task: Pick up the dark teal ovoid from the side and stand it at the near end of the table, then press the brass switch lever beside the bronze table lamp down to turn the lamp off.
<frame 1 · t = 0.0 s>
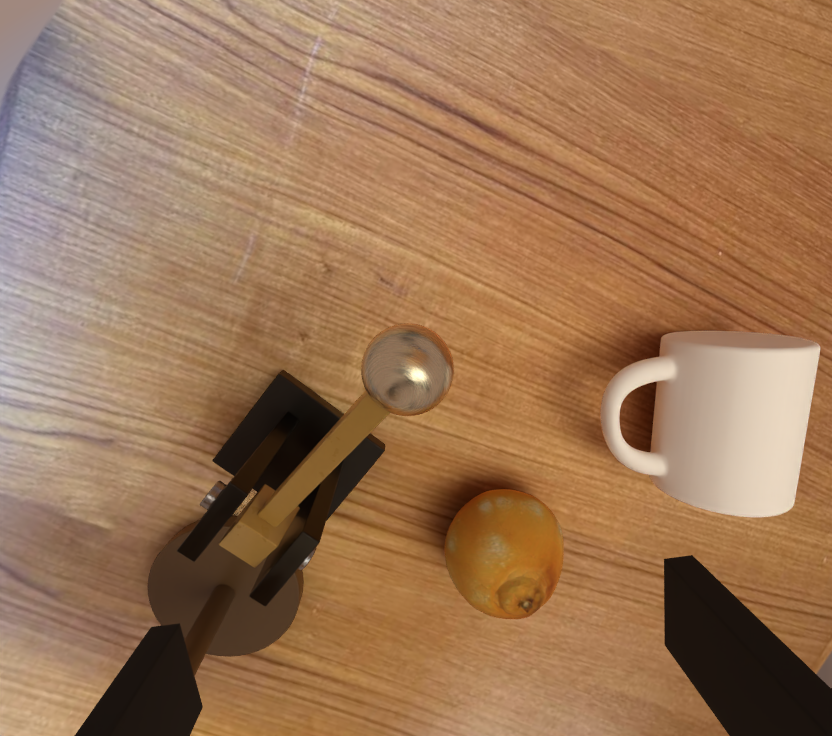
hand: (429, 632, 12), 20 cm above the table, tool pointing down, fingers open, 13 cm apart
switch bracket: (302, 449, 32), on the table
lamp: (231, 580, 34), on the table
fruit: (493, 522, 34), on the table
lamp switch: (321, 461, 19), point 13 cm above the table, hinge at 25.0°
mug: (657, 398, 33), on the table
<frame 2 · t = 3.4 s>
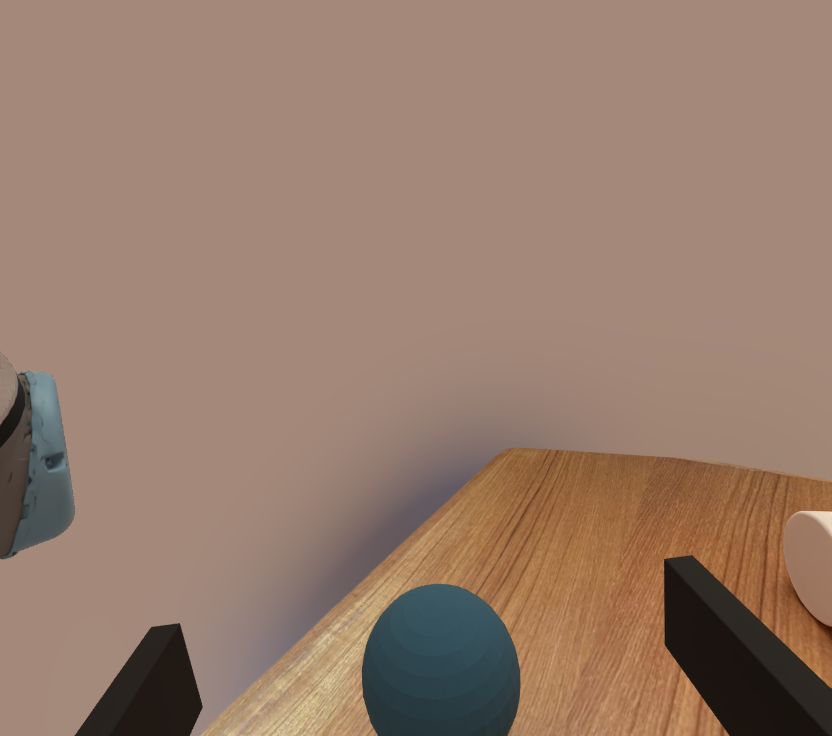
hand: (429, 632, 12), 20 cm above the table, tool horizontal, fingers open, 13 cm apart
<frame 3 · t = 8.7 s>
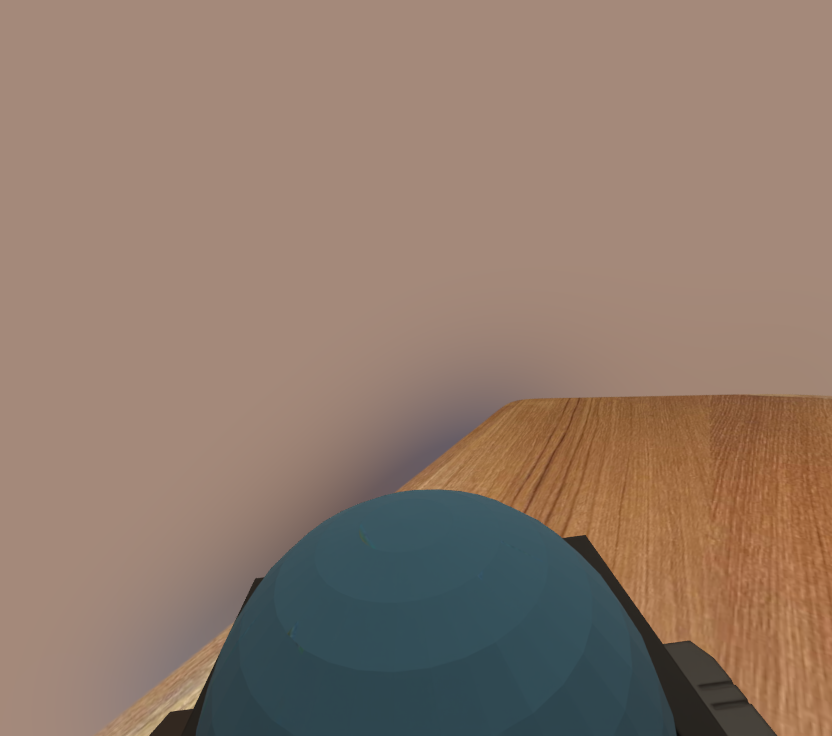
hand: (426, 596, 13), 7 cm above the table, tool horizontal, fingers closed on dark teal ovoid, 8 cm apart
when the fingers open (7 cm above the table, at t = 16.5 s): dark teal ovoid stays where it is, on the table.
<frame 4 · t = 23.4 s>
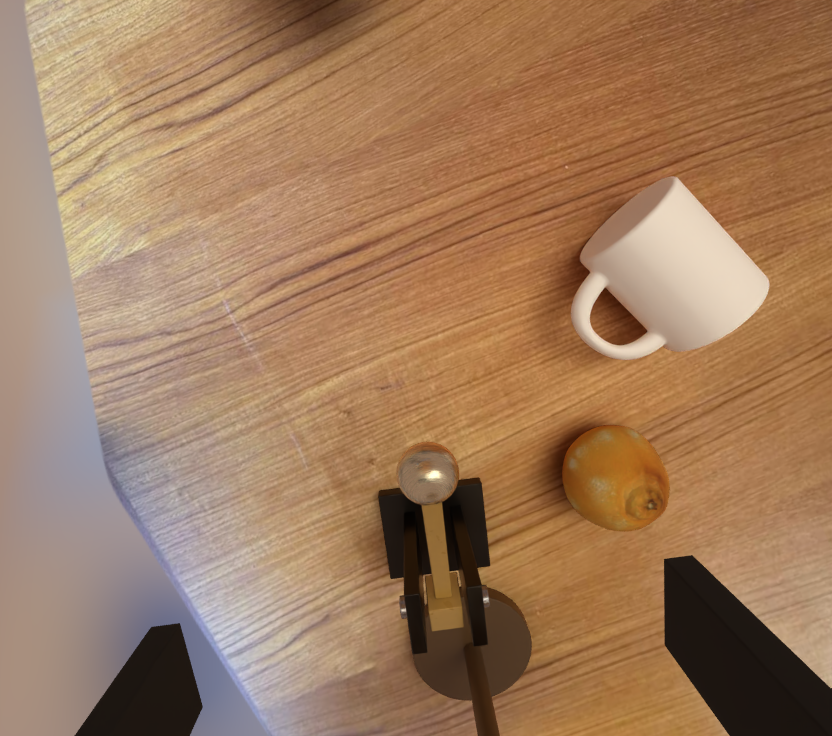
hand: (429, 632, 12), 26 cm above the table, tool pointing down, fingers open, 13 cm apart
switch bracket: (434, 524, 40), on the table
lamp: (470, 637, 42), on the table
fruit: (595, 461, 40), on the table
lamp switch: (437, 545, 27), point 13 cm above the table, hinge at 25.0°
mug: (621, 288, 37), on the table
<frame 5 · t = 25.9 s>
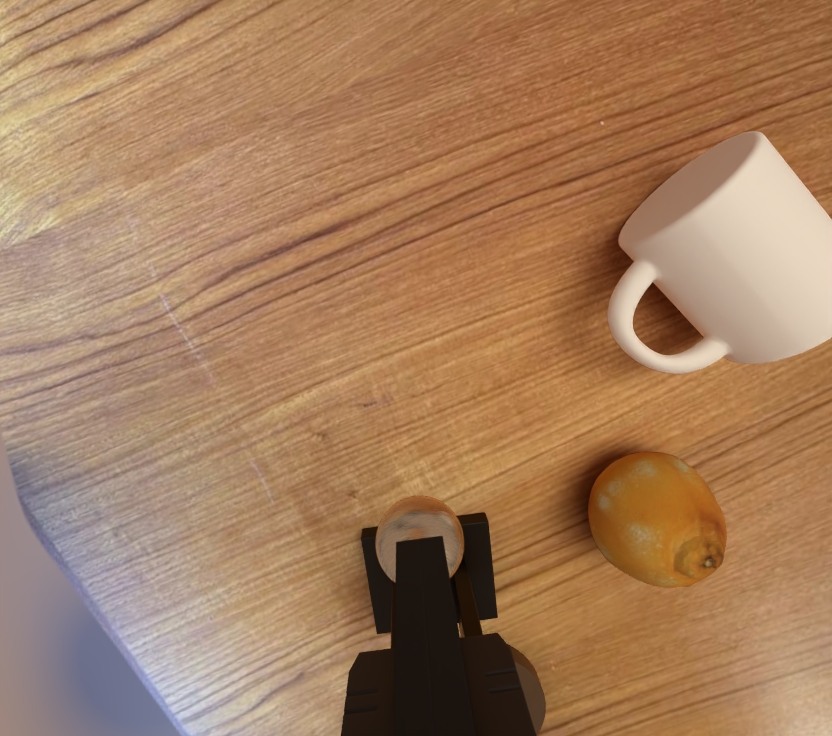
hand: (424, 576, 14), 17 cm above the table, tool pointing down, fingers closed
switch bracket: (430, 568, 33), on the table
lamp: (472, 695, 36), on the table
fruit: (626, 492, 33), on the table
lamp switch: (433, 629, 20), point 12 cm above the table, hinge at 21.5°
mug: (665, 280, 29), on the table
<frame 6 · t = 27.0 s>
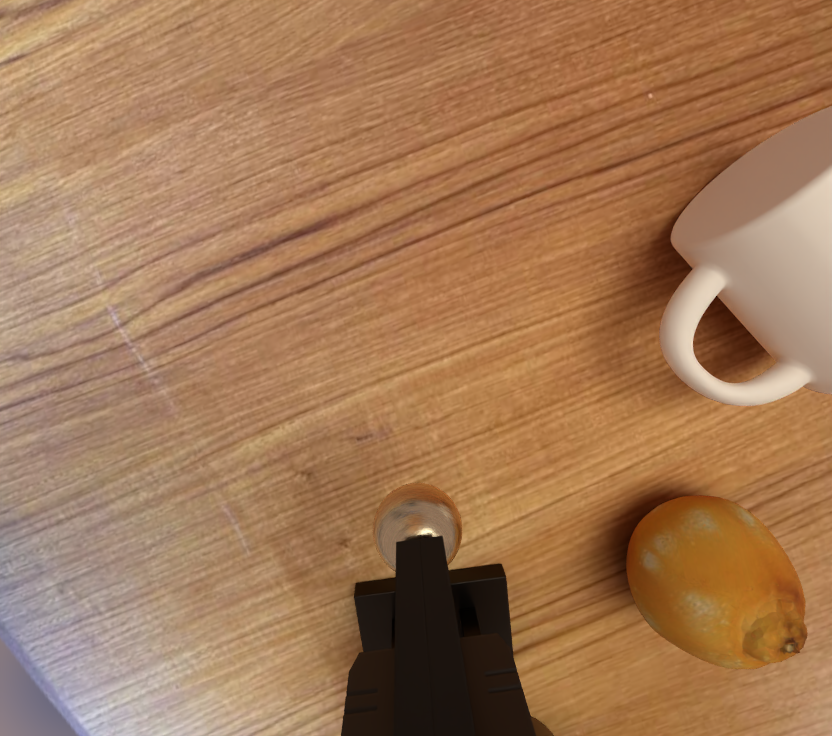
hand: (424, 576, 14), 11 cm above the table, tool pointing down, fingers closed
switch bracket: (436, 628, 28), on the table
fruit: (668, 538, 27), on the table
lamp switch: (437, 681, 17), point 10 cm above the table, hinge at -2.4°
mug: (722, 288, 24), on the table
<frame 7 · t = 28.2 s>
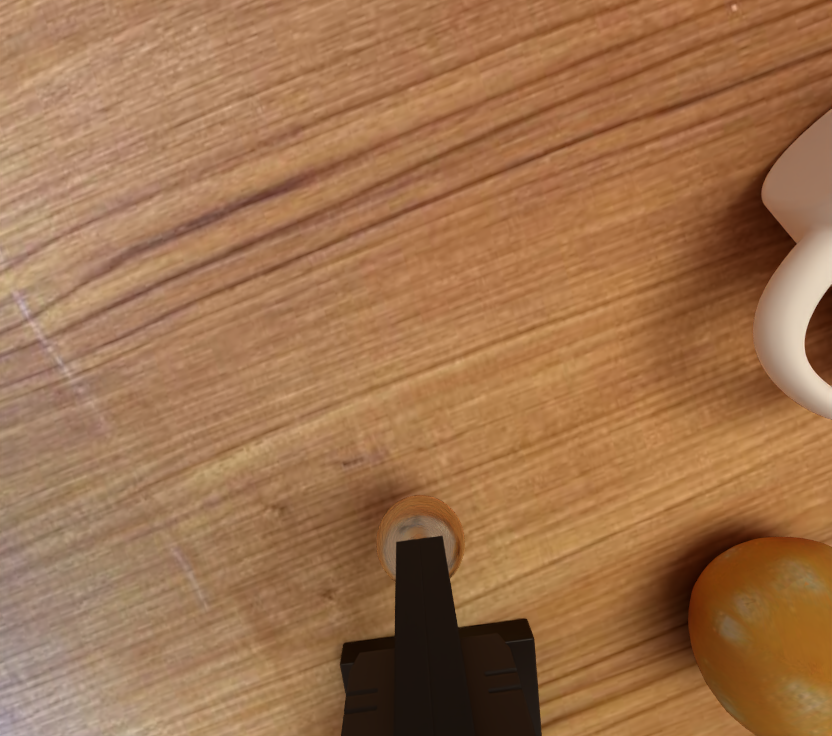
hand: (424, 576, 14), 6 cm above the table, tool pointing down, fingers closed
switch bracket: (444, 697, 22), on the table
fruit: (737, 587, 22), on the table
mug: (818, 269, 19), on the table
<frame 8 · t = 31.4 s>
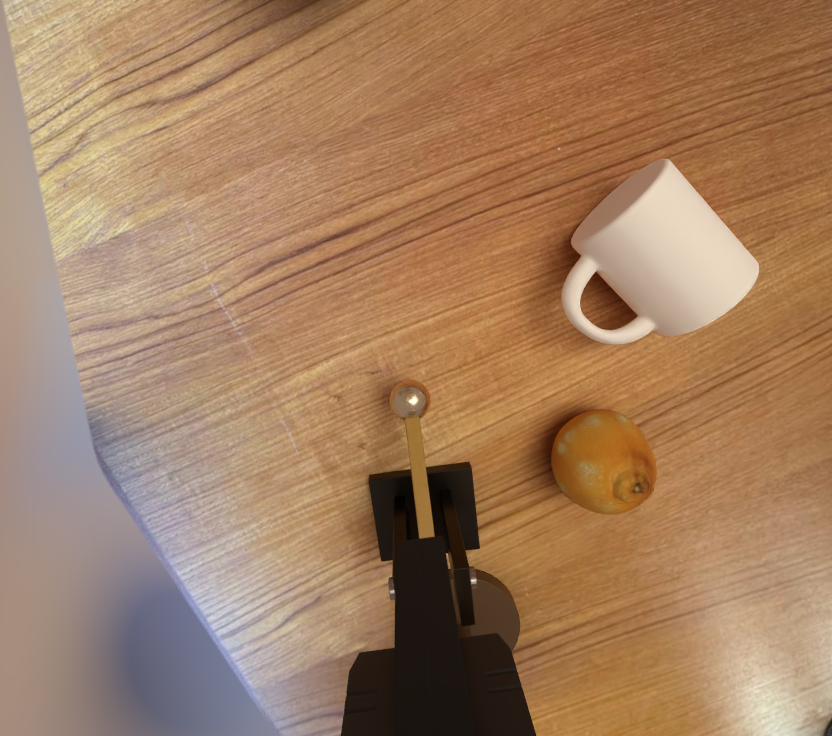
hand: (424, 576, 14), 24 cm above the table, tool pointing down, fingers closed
switch bracket: (424, 508, 41), on the table
lamp: (459, 617, 43), on the table
fruit: (584, 445, 40), on the table
lamp switch: (420, 485, 33), point 7 cm above the table, hinge at -28.5°
mug: (612, 272, 37), on the table
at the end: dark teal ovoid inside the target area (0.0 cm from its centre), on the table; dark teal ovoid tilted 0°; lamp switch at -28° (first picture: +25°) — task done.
